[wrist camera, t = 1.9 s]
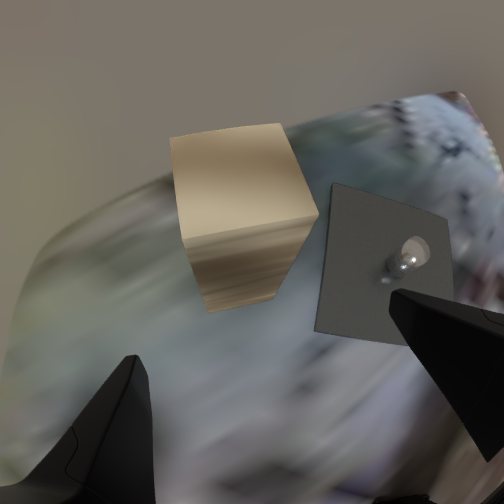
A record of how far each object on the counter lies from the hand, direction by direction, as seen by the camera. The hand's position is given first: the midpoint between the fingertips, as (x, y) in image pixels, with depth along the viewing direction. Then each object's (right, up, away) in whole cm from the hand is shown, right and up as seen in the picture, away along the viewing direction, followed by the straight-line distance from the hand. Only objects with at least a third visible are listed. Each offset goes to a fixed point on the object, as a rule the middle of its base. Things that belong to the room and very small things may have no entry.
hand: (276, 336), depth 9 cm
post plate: (+12, +1, +15) cm, 20 cm away
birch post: (-2, +1, +14) cm, 14 cm away
